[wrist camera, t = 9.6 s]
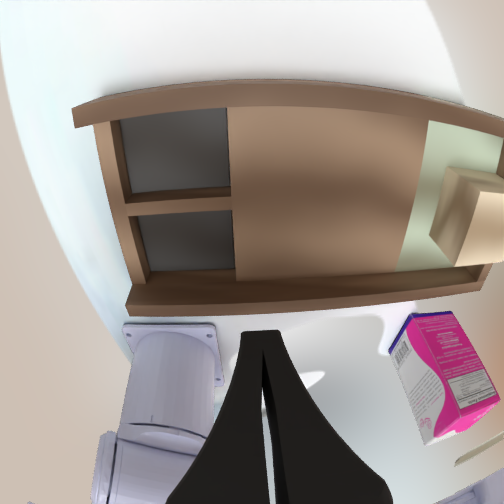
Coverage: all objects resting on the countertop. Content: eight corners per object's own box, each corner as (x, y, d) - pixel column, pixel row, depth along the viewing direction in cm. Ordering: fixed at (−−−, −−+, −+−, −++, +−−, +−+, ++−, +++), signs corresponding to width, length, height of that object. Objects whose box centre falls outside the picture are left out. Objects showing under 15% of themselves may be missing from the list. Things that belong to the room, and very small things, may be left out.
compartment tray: (459, 263, 22) (480, 290, 19) (141, 281, 21) (129, 316, 18) (501, 117, 14) (533, 133, 12) (101, 97, 14) (71, 108, 11)
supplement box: (429, 345, 29) (466, 431, 19) (386, 350, 28) (420, 448, 19) (453, 308, 25) (503, 401, 16) (409, 312, 25) (458, 419, 16)
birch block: (476, 234, 18) (502, 261, 16) (428, 235, 18) (454, 266, 15) (495, 173, 15) (527, 197, 13) (446, 166, 15) (480, 191, 12)
